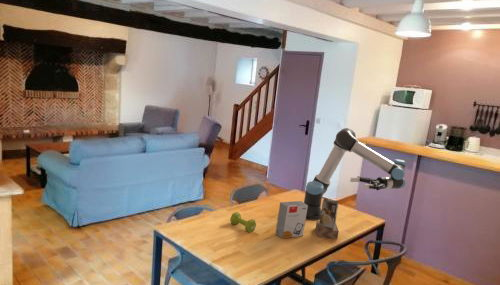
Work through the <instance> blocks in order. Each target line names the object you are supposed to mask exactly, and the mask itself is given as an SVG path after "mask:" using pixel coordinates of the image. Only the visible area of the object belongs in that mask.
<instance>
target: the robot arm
mask: <svg viewBox="0 0 500 285" xmlns="http://www.w3.org/2000/svg"><path fill="white" fill-rule="evenodd" d="M346 152H349V153H354V154H355V155H357V156H358V157H361V159H364V160H365V161H367V162H369V163H371V164H372V165H374V166H375V167H377V168H379V169H380V170H382V171H384V172H385V173H387V174H388V175H390V176H383V177H381V176H379V177H377V178H372V177H364V176H357V177H350V181H349V182H351V183H359V182H362V183H366V184H364V185H363V190H376V191H380V190H382V189H383V190H384V189H385V190H389V189H393V190H394V189H395V190H396V189H397V190H398V189H404V188H405V187H406V179H405V175H406V172H405V168H406V163H407V162H406V161H405V160H404V159H398V158H397V159H396V158H395V159H393V161H392V160H390V159H388V158H387V157H385V156H383V155H381V154H380V153H378V152H377V151H375V150H373V149H371V148H370V147H368V146H366V145H365V144H363V143H361V142H360V141H359V139H358V138H356V133H355V131H354V130H353V129H351V128H348V127H346V128H345V127H344V128H341V130H339V131H338V132H337V133H336V135H335V138H334V141H333V147H332V149H331V151H330V153H329V154H328V157H327V159H326V160H325V162H324V164H323V165H322V167H321V169H320V171H319V173H318V174H316V175H315V176H314V178H313V179H312V180H310V181H308V182H307V183H306V186H305V193H304V200H303V203H305V204H307V205H308V208H307V214H306V220H307V219H308V220H312V221H313V220H314V221H317V220H320V216H321V209H322V202H323V196H324V195H325V193H326V192H327V191H328V189H329V186H330V185H331V179H332V177H333V175H334V173H335V171H336V169H337V168H338V166H339V165H340V162H341V160H342V158H343V157H344V155H345V153H346Z"/></svg>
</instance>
